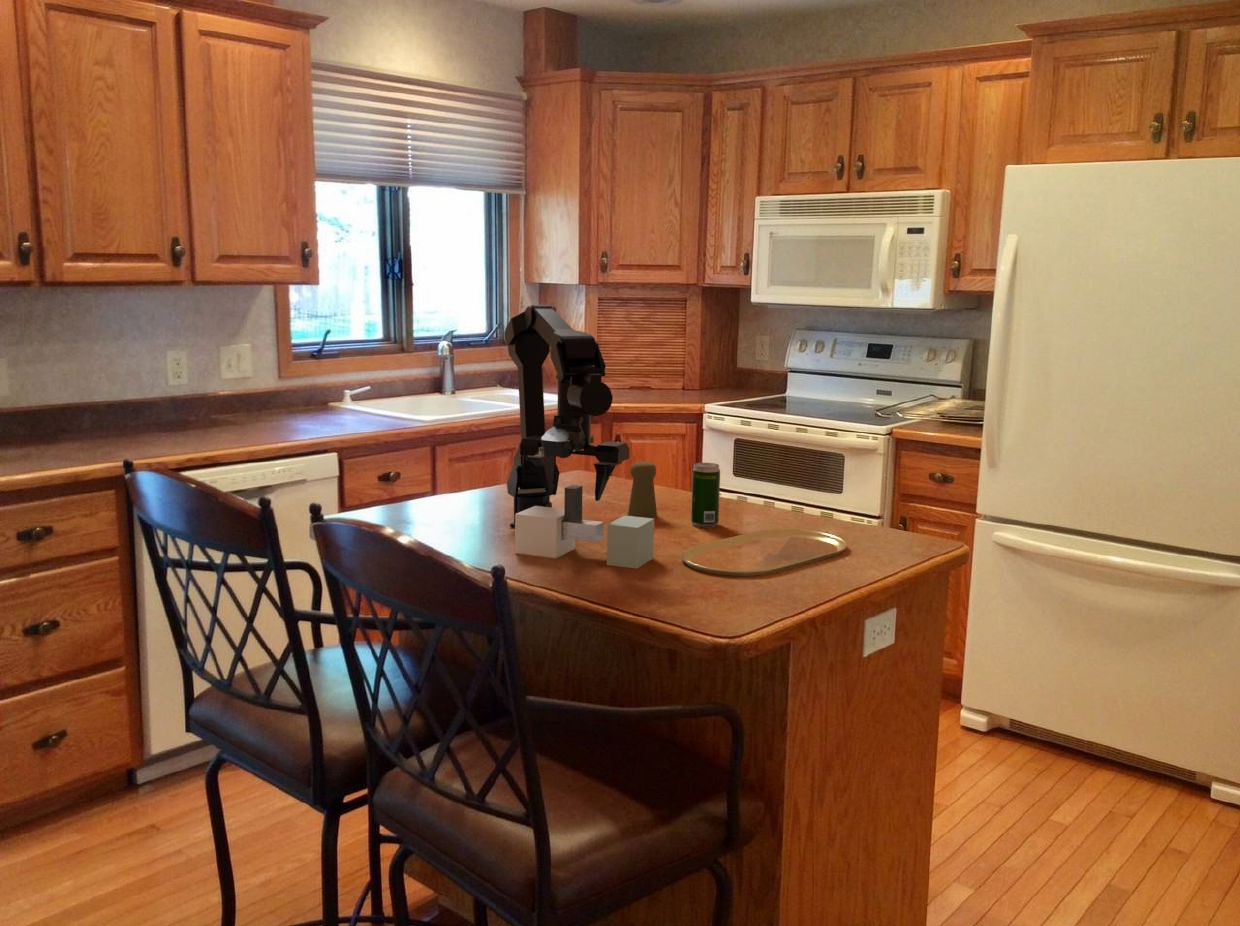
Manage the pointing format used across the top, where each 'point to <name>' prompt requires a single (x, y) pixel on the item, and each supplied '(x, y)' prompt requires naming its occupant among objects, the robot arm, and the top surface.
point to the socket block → (630, 541)
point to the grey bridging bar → (578, 519)
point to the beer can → (705, 495)
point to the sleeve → (541, 532)
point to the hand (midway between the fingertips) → (573, 498)
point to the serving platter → (757, 535)
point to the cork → (643, 491)
